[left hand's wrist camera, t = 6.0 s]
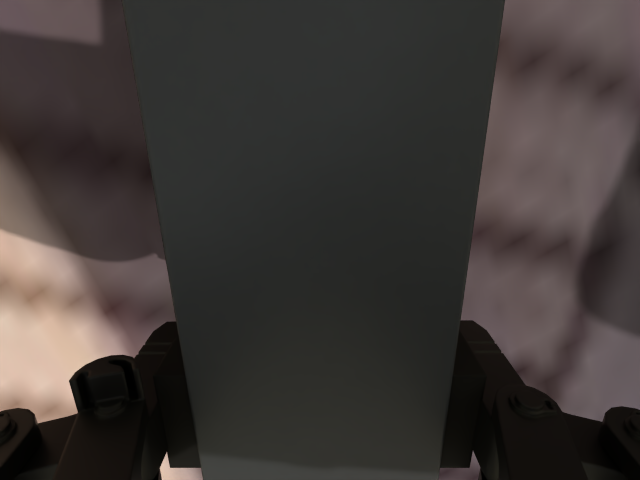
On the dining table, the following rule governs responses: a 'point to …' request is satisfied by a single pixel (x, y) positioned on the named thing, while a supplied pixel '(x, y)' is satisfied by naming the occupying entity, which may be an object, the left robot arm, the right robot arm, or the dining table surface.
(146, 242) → the dining table surface
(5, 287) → the dining table surface
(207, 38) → the bar
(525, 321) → the dining table surface
